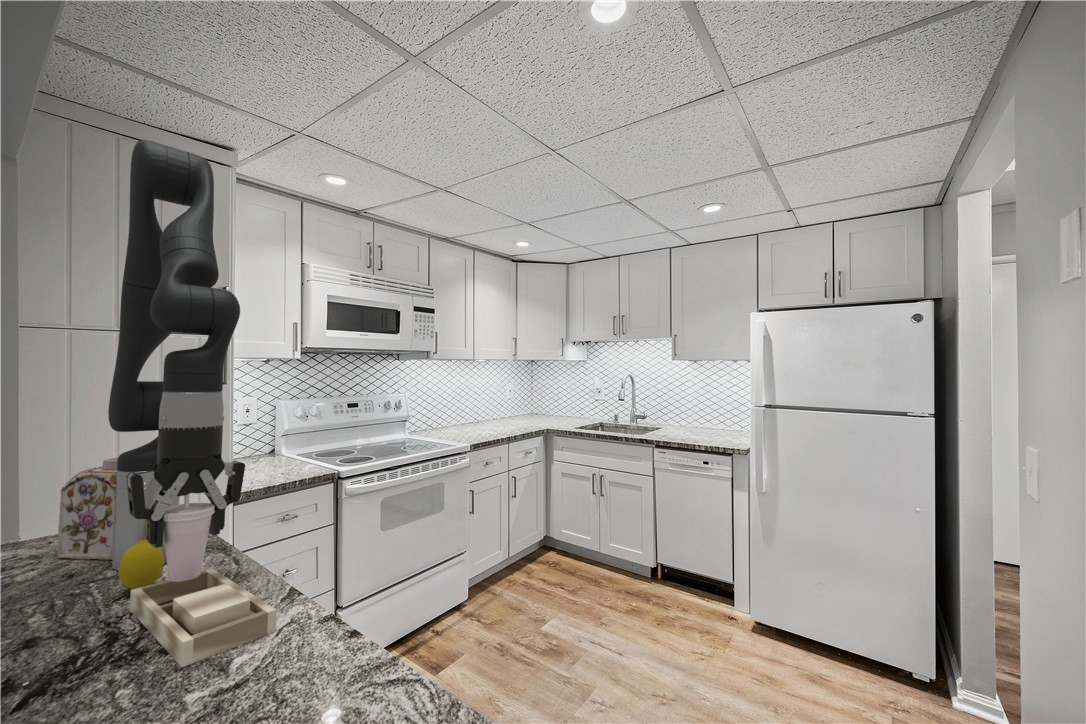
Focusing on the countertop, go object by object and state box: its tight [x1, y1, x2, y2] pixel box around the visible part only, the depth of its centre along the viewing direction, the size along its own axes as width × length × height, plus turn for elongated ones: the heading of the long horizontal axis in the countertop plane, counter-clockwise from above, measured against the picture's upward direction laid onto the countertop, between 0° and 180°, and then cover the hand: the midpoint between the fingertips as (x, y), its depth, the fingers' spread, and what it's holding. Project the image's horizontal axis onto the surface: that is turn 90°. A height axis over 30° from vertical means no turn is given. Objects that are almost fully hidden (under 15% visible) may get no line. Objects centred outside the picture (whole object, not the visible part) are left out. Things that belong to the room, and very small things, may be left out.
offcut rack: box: [129, 568, 277, 668], centre depth 64 cm, size 22×10×4 cm, turn 53°
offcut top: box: [172, 584, 250, 635], centre depth 61 cm, size 8×6×2 cm
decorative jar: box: [57, 456, 119, 561], centre depth 95 cm, size 12×12×18 cm
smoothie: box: [161, 494, 215, 582], centre depth 69 cm, size 6×6×14 cm
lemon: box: [118, 540, 165, 590], centre depth 76 cm, size 6×6×8 cm
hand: (186, 539), depth 69 cm, fingers closed on smoothie, 6 cm apart
